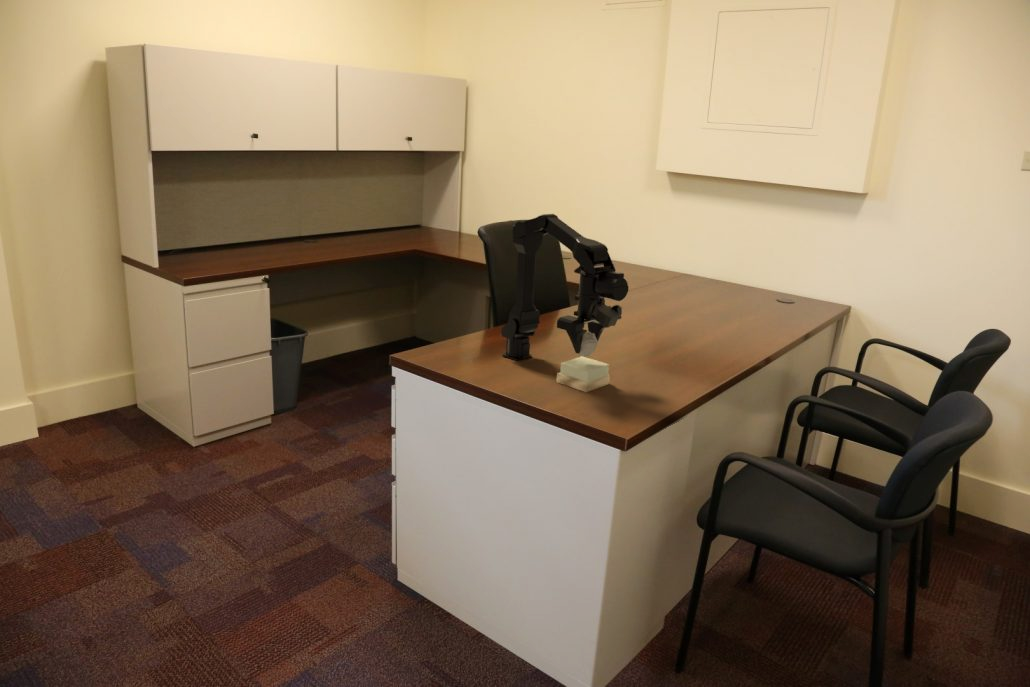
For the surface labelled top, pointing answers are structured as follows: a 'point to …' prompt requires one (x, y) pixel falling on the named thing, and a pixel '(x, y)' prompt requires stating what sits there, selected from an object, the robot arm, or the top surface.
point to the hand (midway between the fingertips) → (585, 350)
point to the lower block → (582, 382)
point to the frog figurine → (588, 344)
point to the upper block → (584, 369)
